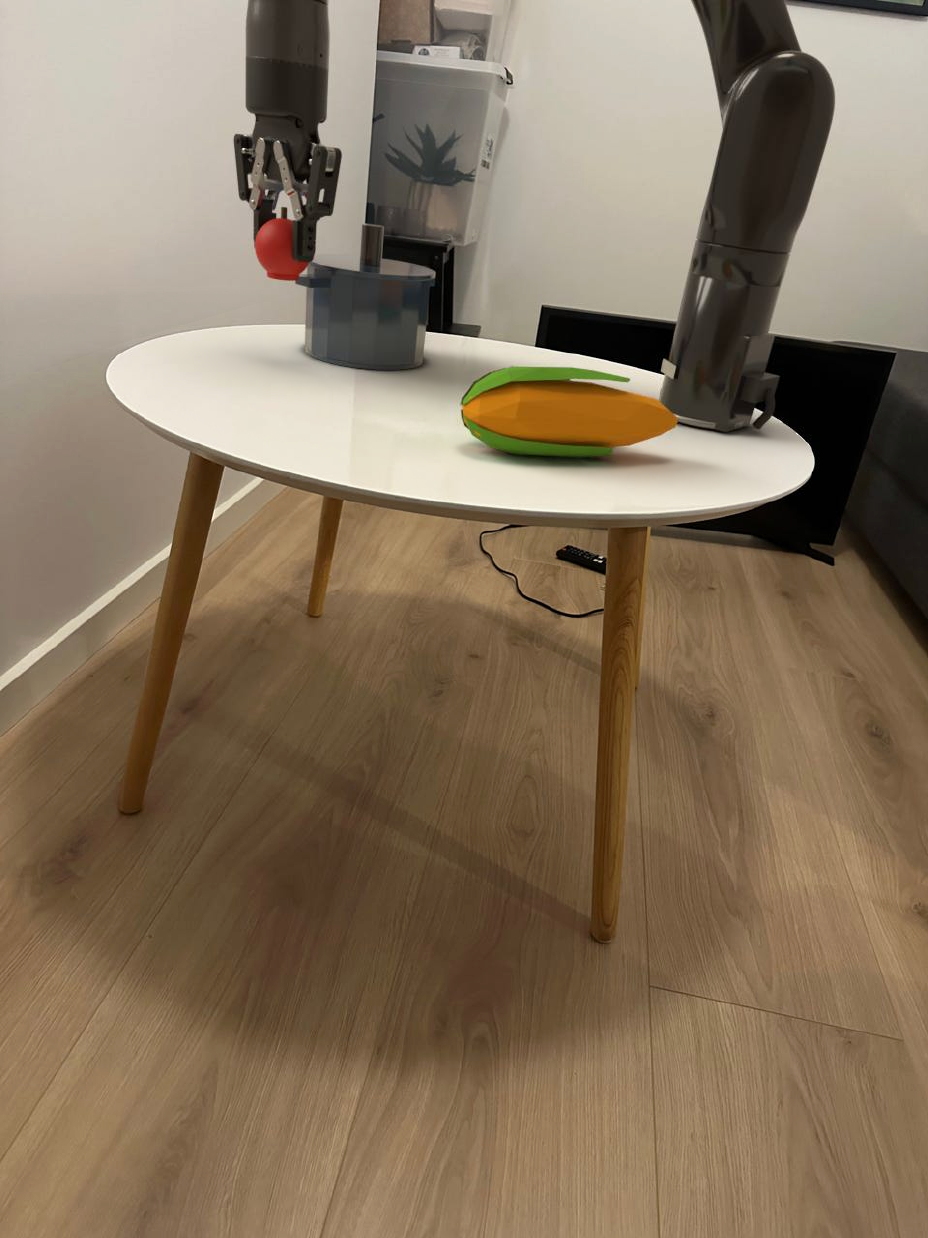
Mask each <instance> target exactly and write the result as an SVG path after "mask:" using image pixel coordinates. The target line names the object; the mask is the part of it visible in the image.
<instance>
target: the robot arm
mask: <svg viewBox="0 0 928 1238" xmlns="http://www.w3.org/2000/svg"><path fill="white" fill-rule="evenodd" d="M690 1H691V4H692V6H693V8H694V11H695V13H696V16H697V18H698V21H699V24H700V26H701V29H702V33H703V36H704V40H705V43H706V47H707V51H708V57H709V60H710V65H711V70H712V75H713V79H714V85H715V91H716V95H717V101H718V107H719V113H720V119H721V120H720V121H721V127H722V128H721V129H722V131H721V136H720V141H719V145H718V149H717V152H716V153H717V154H716V158H715V162H714V166H713V170H712V175H711V178H710V183H709V187H708V191H707V194H706V197H705V201H704V205H703V209H702V211H701V215H700V218H699V224H698V227H697V228H698V229H697V233H696V240H695V241H694V246H693V250H692V255H691V259H690V263H689V266H688V267H689V268H688V272H687V276H686V281H685V284H684V290H683V292H682V293H683V294H682V297H681V302H680V307H679V311H678V316H677V319H676V324H675V328H674V332H673V336H672V337H673V338H672V340H671V347H670V350H669V354H668V359H666V358H663V360H662V363H661V369H660V372H661V373H663V374H664V377H663V381H662V384H661V389H660V392H659V398H658V401H659V402H660V403H662V404H663V405H664V406H665V407H666V408H667V409H668V410H669V411H670V412H671V413H673V414H674V415H675V416H676V417H677V418H678V422H677V423H681V424H684V425H688V426H692V427H698V428H703V429H711V430H716V431H719V432H723V433H728V432H731V431H734V430H737V429H741V428H744V427H748V426H752V427H753V428H754V429H756V430H761V429H762V427H764V426H765V425H766V423H767V422H769V420H770V419H771V418H772V416H773V415H774V412H775V409H776V397H775V395H776V391H777V389H778V384H779V381H780V377H781V376H780V375H777V374H773V373H770V372H766V369H767V365H768V363H769V360H770V359H769V358H770V355H771V353H772V348H773V344H774V341H775V335H774V333H772V332H769V331H770V328H771V324H772V321H773V317H774V313H775V310H776V306H777V303H778V299H779V295H780V292H781V289H782V284H783V282H784V277H785V274H786V271H787V267H788V263H789V259H790V256H791V254H790V253H792V250H793V246H794V242H795V239H796V237H797V233H798V231H799V229H800V227H801V225H802V222H803V221H804V219H805V216H806V213H807V210H808V207H809V204H810V200H811V196H812V193H813V190H814V187H815V184H816V180H817V177H818V173H819V170H820V167H821V165H822V160H823V158H824V153H825V150H826V147H827V143H828V140H829V136H830V133H831V128H832V125H833V120H834V115H835V109H836V90H835V85H834V81H833V79H832V77H831V74H830V72H829V71H828V69H827V67H826V66H825V65H824V64H823V63H822V62H821V60H819V59H818V58H816V57H815V56H813V55H811V54H809V53H807V52H804V51H803V50H802V48H801V45H800V42H799V40H798V37H797V33H796V31H795V28H794V24H793V22H792V19H791V16H790V13H789V10H788V6H787V3H786V0H690ZM329 2H330V1H329V0H248V1H247V9H246V18H245V108H246V110H247V112H248V113H249V114H253V115H254V116H255V122H254V126H253V130H252V133H250V134H245V133H243V134H241V133H235V134H234V135H233V151H234V161H235V168H236V169H235V170H236V180H237V181H236V182H237V191H238V198H239V199H240V201H241V202H242V201H243V202H247V203H248V204H249V208H250V209H251V210H253V211H252V212H253V246H254V248H255V240H256V236H257V234H258V232H259V230H260V228H261V227H262V226H263V225H264V224H265V223H266V222H268V221H270V220H272V219H276V218H277V215H278V214H277V213H276V212H275V211H276V208H277V205H278V201H279V197H280V194H281V192H283V191H284V193H285V194H286V195H287V196H288V197H289V199H290V204H291V208H292V214H293V217H294V219H292V221H293V235H292V258H293V260H295V261H298V262H312V261H313V259H314V255H315V254H316V252H317V251H316V250H317V226H318V221H320V220H321V219H322V218H325V217H331V216H333V213H334V209H335V202H336V196H337V189H338V184H339V177H340V172H341V171H340V170H341V164H342V158H343V153H342V150H341V149H340V148H339V147H334V146H326V145H325V144H323V143H322V142H321V138H320V135H319V134H320V133H319V124H323V123H325V122H326V120H327V119H328V95H329V94H328V93H329V92H328V91H329V73H330V72H329V71H330V70H329V69H330V47H331V46H330V45H331V35H330V33H331V31H330V20H329V18H330V17H329ZM249 176H250V182H251V183H252V187H250V185H249V184H250V183H249ZM304 182H306V183H304ZM266 190H267V192H266ZM322 190H323V196H322V201H320V194H321V191H322ZM266 193H267V194H266ZM303 197H304V198H305V200H306V202H305V204H304V201H303ZM761 402H765V405H764V406H765V407H764V410H763V411H762V413H761V414H760V415H759V416H758V417H757V418H756V419H755V420H754V421H752V420H753V419H752V418H753V415H754V412H755V408H756V404H757V403H761ZM751 422H752V424H751Z"/></svg>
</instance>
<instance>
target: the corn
mask: <svg viewBox="0 0 928 1238" xmlns="http://www.w3.org/2000/svg"><path fill="white" fill-rule="evenodd" d="M579 380H580V381H579ZM581 380H582V381H581ZM583 380H591V381H583ZM592 380H595V381H596V380H597V381H598V380H599V381H611V382H619V383H620V382H621V383H630V381H631V378H630V377H626V376H621V375H617V374H612V373H607V372H603V371H599V370H594V369H586V368H580V367H572V366H571V367H570V366H568V367H567V366H566V367H565V366H561V367H560V366H512V365H511V366H509V367H504V368H500V369H497V370H493V371H490V372H488V373H486V374H484V375H482V377H480V378H478V379H476V380H475V381H473V382H472V383H471V385H470V386H469V388H468V389H467V391H466V392H465V393H464V394H463V396H462V397H461V401H460V403H459V406H461V409H460V413H461V415H460V416H461V420H462V423H463V427H465V428H466V429H467V430H468V431H469V433H470V434H471V436H473V437H474V438H476V439H478V440H479V441H480V442H482V443H483V444H485V445H486V446H488V447H490V448H491V449H495V450H498V451H502V452H505V453H508V454H512V455H521V456H543V457H544V456H545V457H566V458H590V457H603V456H609V455H612V454H613V452H614V450H613V449H612V448H619V447H620V448H621V447H629V446H632V445H636V444H638V443H642V442H644V441H647V440H651V439H654V438H657V437H659V436H662V435H664V434H666V433H667V432H669V431H671V430H673V429H675V428H676V427H677V424H678V423H679V422H678V418H677V417H676V416H675V415H674V414H673V413H671V412H670V411H669V410H668V409H667V408H666V407H665V406H664V405H663V404H662V403H660V402H659V399H657V398H654V397H651V396H646V395H643V394H639V393H634V392H631V391H628V390H624V389H619V388H615V387H611V386H607V385H603V384H599V383H595V382H592Z"/></svg>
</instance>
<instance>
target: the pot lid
mask: <svg viewBox="0 0 928 1238" xmlns="http://www.w3.org/2000/svg"><path fill="white" fill-rule="evenodd" d="M384 231H385V226H383V225H380V224H373V223H361V231H360V232H361V233H360V251H359V255H356V254H343V253H315V255H314V259H313V261H312V262H309V264H308V265H309V266H312V267H314V268H318V269H322V270H326V271H330V272H335V273H340V274H346V275H353V276H360V277H367V278H376V279H387V280H402V281H423V280H431V279H434V278H435V279H436V271H435V270H433V269H431V268H429V267H427V266H422V265H419V264H415V263H411V262H405V261H401V260H394V259H389V258H383V244H384V233H385V232H384Z"/></svg>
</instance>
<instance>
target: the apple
mask: <svg viewBox="0 0 928 1238" xmlns="http://www.w3.org/2000/svg"><path fill="white" fill-rule="evenodd" d="M292 235H293V219H289V218H288V207H287V206H281V207H280V217H276V219H272V220H270V221H268V222H266V223H265V224H264V225H263V226H262V227H261V228H260V230H259V232H258V234H257V236H256V240H255V247H254V250H255V254H256V258H257V260H258V263H259V264H260V266H261V267H262V268H263V269H264V270H265V272H266V277H267V278H268V279H273V280H278V281H287V282H295V281H296V280H299V274H303V272H304V271H305V270H307V266H308V264H309V262H298V261H295V260H293V258H292Z"/></svg>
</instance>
